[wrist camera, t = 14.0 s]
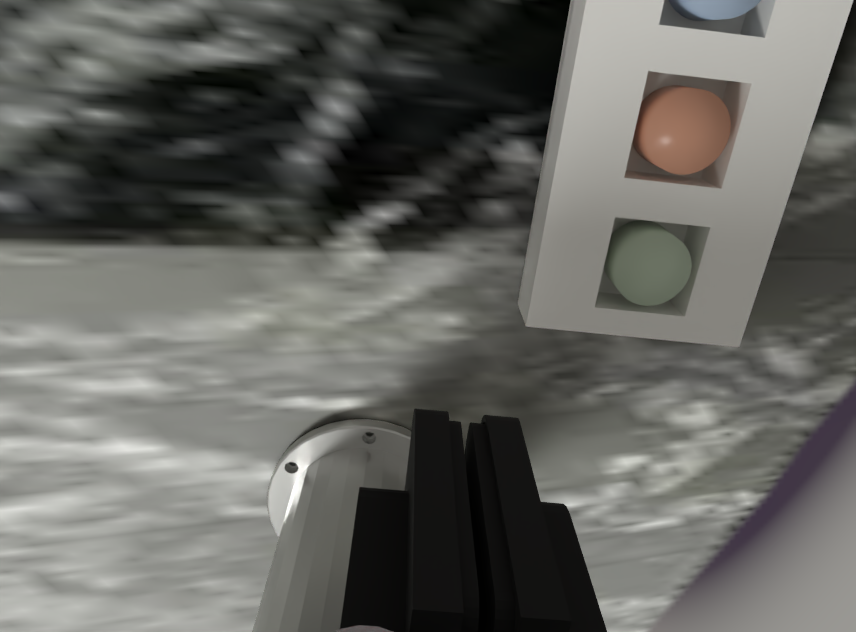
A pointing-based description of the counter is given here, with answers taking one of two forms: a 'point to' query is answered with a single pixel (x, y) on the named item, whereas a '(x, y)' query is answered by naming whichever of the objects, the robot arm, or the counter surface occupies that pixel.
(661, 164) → the button terracotta
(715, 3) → the button slate
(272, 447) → the counter surface
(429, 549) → the robot arm
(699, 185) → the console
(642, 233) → the button sage
